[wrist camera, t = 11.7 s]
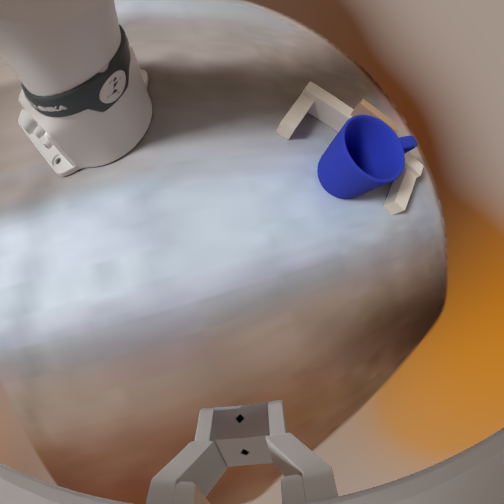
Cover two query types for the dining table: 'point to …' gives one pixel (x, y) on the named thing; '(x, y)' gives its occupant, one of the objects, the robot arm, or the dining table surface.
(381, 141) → the mug
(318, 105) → the beige blocky open frame
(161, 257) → the dining table surface
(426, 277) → the dining table surface
